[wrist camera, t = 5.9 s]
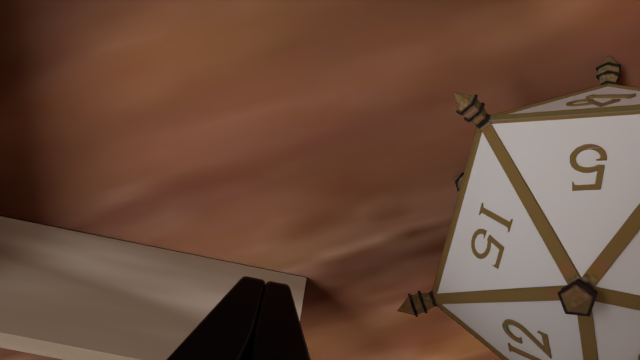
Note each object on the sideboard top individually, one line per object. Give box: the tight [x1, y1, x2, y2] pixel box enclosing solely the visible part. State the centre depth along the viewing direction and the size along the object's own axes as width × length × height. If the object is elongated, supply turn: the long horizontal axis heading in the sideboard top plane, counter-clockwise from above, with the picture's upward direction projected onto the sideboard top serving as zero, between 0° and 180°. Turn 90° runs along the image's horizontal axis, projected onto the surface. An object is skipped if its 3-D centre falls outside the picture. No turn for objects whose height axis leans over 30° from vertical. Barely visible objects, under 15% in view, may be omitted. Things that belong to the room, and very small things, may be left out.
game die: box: [397, 56, 640, 360], centre depth 13 cm, size 9×8×10 cm
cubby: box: [0, 216, 306, 360], centre depth 14 cm, size 14×13×4 cm
